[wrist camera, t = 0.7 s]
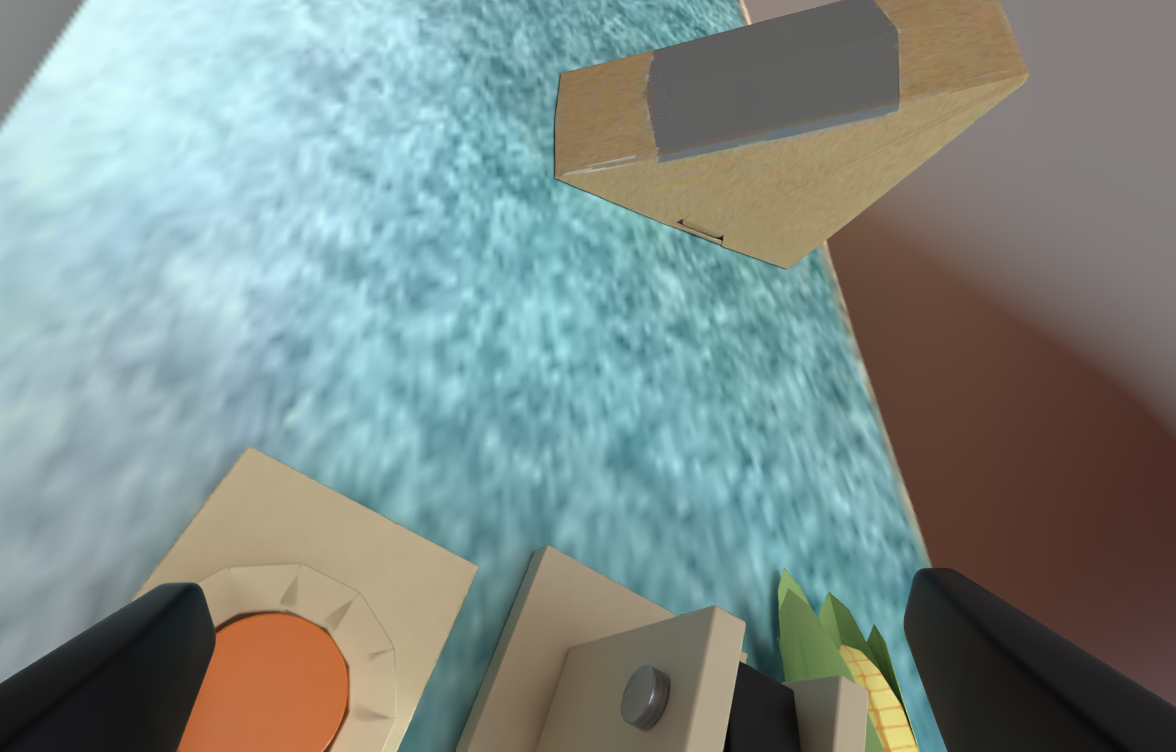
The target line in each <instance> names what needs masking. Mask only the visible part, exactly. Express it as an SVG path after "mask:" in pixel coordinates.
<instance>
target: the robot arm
mask: <svg viewBox="0 0 1176 752" xmlns="http://www.w3.org/2000/svg"><path fill="white" fill-rule="evenodd" d="M904 631H905V636H906V639H907V642H908V645H909V647H910V650H911V653H912V656H913V658H914V661H915V664H916V667H917V669H918V672H919V675H920V678H921V681H922V683H923V686H924V689H925V692H926V694H927V697H928V700H929V703H930V705H931V708H932V711H933V714H934V717H935V719H936V722H937V725H938V728H939V730H940V733H941V736H942V738H943V741H944V744H945V746H946V749H947V751H948V752H1176V707H1175V706H1173V705H1172V704H1170V703H1169V702H1167V701H1166V700H1164V699H1162V698H1161V697H1159V696H1158V695H1156V694H1154V693H1153V692H1151V691H1149V690H1148V689H1146V688H1145V687H1143V686H1142V685H1140V684H1138V683H1137V682H1135V681H1133V680H1132V679H1130V678H1128V677H1127V676H1125V675H1124V674H1122V673H1120V672H1119V671H1117V670H1116V669H1114V668H1112V667H1111V666H1109V665H1108V664H1106V663H1104V662H1103V661H1101V660H1099V659H1098V658H1096V657H1094V656H1093V655H1091V654H1090V653H1088V652H1087V651H1085V650H1083V649H1082V648H1080V647H1079V646H1077V645H1075V644H1074V643H1072V642H1070V641H1069V640H1067V639H1066V638H1064V637H1062V636H1061V635H1059V634H1058V633H1056V632H1054V631H1053V630H1051V629H1049V628H1048V627H1046V626H1045V625H1043V624H1041V623H1040V622H1038V621H1037V620H1035V619H1033V618H1032V617H1030V616H1029V615H1027V614H1025V613H1024V612H1022V611H1020V610H1019V609H1017V608H1016V607H1014V606H1012V605H1011V604H1009V603H1008V602H1006V601H1004V600H1003V599H1001V598H1000V597H998V596H996V595H995V594H993V593H991V592H990V591H988V590H987V589H985V588H983V587H982V586H980V585H979V584H977V583H975V582H974V581H972V580H970V579H969V578H967V577H966V576H964V575H962V574H961V573H959V572H957V571H955V570H953V569H950V568H923V569H920V570H918V571H917V572H916V574H915V575H914V578H913V582H912V586H911V590H910V594H909V598H908V602H907V607H906V611H905V615H904ZM215 645H216V631H215V627H214V624H213V621H212V617H211V614H210V611H209V608H208V604H207V601H206V598H205V595H204V592H203V589H202V588H201V587H200V585H198V584H196V583H193V582H178V583H164V584H161V585H159V586H157V587H155V588H154V589H152V590H150V591H149V592H147V593H146V594H144V595H142V596H141V597H139V598H138V599H136V600H134V601H133V602H131V603H129V604H128V605H126V606H125V607H123V608H121V609H120V610H118V611H117V612H115V613H113V614H112V615H110V616H108V617H107V618H105V619H104V620H102V621H100V622H99V623H97V624H96V625H94V626H92V627H91V628H89V629H87V630H86V631H84V632H83V633H81V634H79V635H78V636H76V637H74V638H73V639H71V640H70V641H68V642H66V643H65V644H63V645H62V646H60V647H58V648H57V649H55V650H53V651H52V652H50V653H49V654H47V655H45V656H44V657H42V658H41V659H39V660H37V661H36V662H34V663H32V664H31V665H29V666H28V667H26V668H24V669H23V670H21V671H19V672H18V673H16V674H15V675H13V676H11V677H10V678H8V679H7V680H5V681H3V682H2V683H0V752H177V750H178V747H179V745H180V742H181V739H182V737H183V734H184V731H185V729H186V726H187V723H188V720H189V718H190V715H191V712H192V710H193V707H194V704H195V702H196V699H197V696H198V694H199V691H200V688H201V685H202V683H203V680H204V677H205V675H206V672H207V669H208V667H209V664H210V661H211V658H212V656H213V653H214V650H215Z"/></svg>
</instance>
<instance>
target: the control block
mask: <svg viewBox="0 0 1176 752" xmlns="http://www.w3.org/2000/svg"><path fill="white" fill-rule="evenodd" d="M477 571H478V566H477V565H475V564H473V563H471V562H469V561H467V560H465V559H463V558H461V557H459V556H458V555H456V554H454V553H452V552H450V551H448V550H446V549H444V548H442V547H441V546H439V545H437V544H435V543H433V542H431V541H429V540H427V539H425V538H423V537H422V536H420V535H418V534H416V533H414V532H412V531H410V530H408V529H406V528H405V527H403V526H401V525H399V524H397V523H395V522H393V521H391V520H389V519H387V518H386V517H384V516H382V515H380V514H378V513H376V512H374V511H372V510H370V509H369V508H367V507H365V506H363V505H361V504H359V503H357V502H355V501H353V500H351V499H350V498H348V497H346V496H344V495H342V494H340V493H338V492H336V491H334V490H333V489H331V488H329V487H327V486H325V485H323V484H321V483H319V482H317V481H315V480H314V479H312V478H310V477H308V476H306V475H304V474H302V473H300V472H298V471H297V470H295V469H293V468H291V467H289V466H287V465H285V464H283V463H281V462H279V461H278V460H276V459H274V458H272V457H270V456H268V455H266V454H264V453H262V452H261V451H259V450H257V449H255V448H253V447H251V446H248V447H247V448H246V449H245V450H244V452H243V453H242V454H241V456H240V457H239V458H238V460H237V461H236V462H235V463H234V465H233V466H232V467H231V469H230V470H229V471H228V473H227V474H226V475H225V477H224V478H223V479H222V481H221V482H220V483H219V485H218V486H217V487H216V489H215V490H214V491H213V493H212V494H211V495H210V497H209V498H208V499H207V501H206V502H205V503H204V505H203V506H202V507H201V509H200V510H199V511H198V513H197V514H196V515H195V516H194V518H193V519H192V520H191V522H190V523H189V524H188V526H187V527H186V528H185V530H184V531H183V532H182V534H181V535H180V536H179V538H178V539H177V540H176V542H175V543H174V544H173V546H172V547H171V548H170V550H169V551H168V552H167V554H166V555H165V556H164V558H163V559H162V560H161V562H160V563H159V564H158V565H157V567H156V568H155V569H154V571H153V572H152V573H151V575H150V576H149V577H148V579H147V580H146V581H145V583H144V584H143V585H142V587H141V588H140V589H139V591H138V592H137V593H136V595H135V596H134V597H133V599H132V600H131V601H130V603H131V602H133V601H134V600H136V599H138V598H139V597H141V596H142V595H144V594H146V593H147V592H149V591H150V590H152V589H154V588H155V587H157V586H159V585H161V584H164V583H178V582H193V583H196V584H198V585H200V587H201V588H202V589H203V592H204V595H205V598H206V601H207V604H208V608H209V611H210V614H211V617H212V621H213V624H214V627H215V631H216V633H217V632H218V631H220V630H221V629H223V628H225V627H226V626H228V625H230V624H232V623H234V622H236V621H239V620H241V619H244V618H247V617H251V616H254V615H259V614H266V613H283V614H290V615H294V616H299V617H301V618H304V619H306V620H309V621H311V622H312V623H314V624H316V625H318V626H319V627H320V628H321V629H323V630H324V631H325V632H326V633H327V634H328V635H329V636H330V637H331V638H332V639H333V641H334V642H335V644H336V645H337V646H338V648H339V650H340V652H341V654H342V657H343V659H344V662H345V665H346V670H347V676H348V697H347V703H346V708H345V711H344V715H343V718H342V721H341V723H340V725H339V727H338V730H337V732H336V733H335V735H334V737H333V738H332V740H331V742H330V743H329V744H328V746H327V747H326V749H325V750H324V751H323V752H397V750H398V748H399V746H400V744H401V741H402V739H403V737H404V735H405V732H406V730H407V728H408V726H409V723H410V721H411V719H412V717H413V714H414V712H415V710H416V708H417V706H418V703H419V701H420V699H421V697H422V694H423V692H424V690H425V688H426V685H427V683H428V681H429V679H430V676H431V674H432V672H433V670H434V667H435V665H436V663H437V661H438V658H439V656H440V654H441V652H442V649H443V647H444V645H445V643H446V640H447V638H448V636H449V634H450V632H451V629H452V627H453V625H454V623H455V620H456V618H457V616H458V614H459V611H460V609H461V607H462V605H463V602H464V600H465V598H466V596H467V593H468V591H469V589H470V587H471V584H472V582H473V580H474V578H475V575H476V573H477ZM177 752H178V751H177Z"/></svg>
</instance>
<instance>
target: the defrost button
mask: <svg viewBox="0 0 1176 752" xmlns="http://www.w3.org/2000/svg"><path fill="white" fill-rule="evenodd" d="M347 697H348V676H347V670H346V665H345V662H344V659H343V657H342V654H341V652H340V650H339V648H338V646H337V645H336V644H335V642H334V641H333V639H332V638H331V637H330V636H329V635H328V634H327V633H326V632H325V631H324V630H323V629H321V628H320V627H319V626H318V625H316V624H314V623H312V622H311V621H309V620H306V619H304V618H301V617H299V616H294V615H290V614H283V613H266V614H259V615H254V616H251V617H247V618H244V619H241V620H239V621H236V622H234V623H232V624H230V625H228V626H226V627H225V628H223V629H221V630H220V631H218V632H217V633H216V645H215V650H214V653H213V656H212V658H211V661H210V664H209V667H208V669H207V672H206V675H205V677H204V680H203V683H202V685H201V688H200V691H199V694H198V696H197V699H196V702H195V704H194V707H193V710H192V712H191V715H190V718H189V720H188V723H187V726H186V729H185V731H184V734H183V737H182V739H181V742H180V745H179V747H178V750H177V751H178V752H323V751H324V750H325V749H326V747H327V746H328V744H329V743H330V742H331V740H332V738H333V737H334V735H335V733H336V732H337V730H338V727H339V725H340V723H341V721H342V718H343V715H344V711H345V708H346V703H347Z"/></svg>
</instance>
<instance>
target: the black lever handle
mask: <svg viewBox="0 0 1176 752" xmlns="http://www.w3.org/2000/svg"><path fill="white" fill-rule="evenodd" d="M723 752H801V745H800V737H799V729H798V721H797V712H796V704H795V696H794V691H793V690H792V689H791V688H789V687H787V686H785V685H783V684H782V683H780V682H778V681H776V680H774V679H772V678H771V677H769V676H767V675H765V674H763V673H761V672H760V671H758V670H756V669H754V668H752V667H750V666H749V665H747V664H745V663H743V662H741V661H739V665H738V670H737V676H736V681H735V687H734V692H733V698H732V704H731V709H730V715H729V720H728V726H727V731H726V737H725V742H724V748H723Z"/></svg>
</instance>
